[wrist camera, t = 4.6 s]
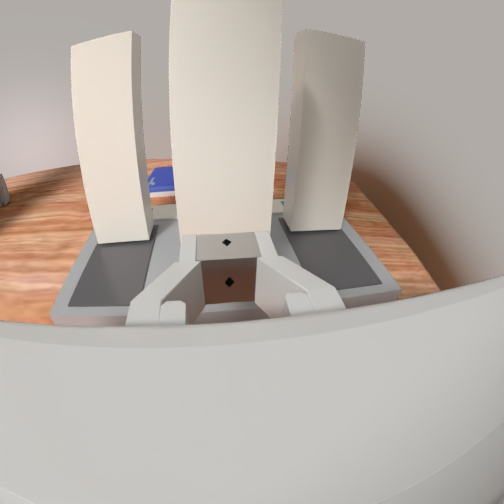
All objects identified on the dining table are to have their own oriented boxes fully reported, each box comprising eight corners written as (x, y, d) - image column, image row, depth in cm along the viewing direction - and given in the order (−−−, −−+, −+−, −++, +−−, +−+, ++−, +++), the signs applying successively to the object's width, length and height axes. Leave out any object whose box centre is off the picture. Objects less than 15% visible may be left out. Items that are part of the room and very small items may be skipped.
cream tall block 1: (149, 239, 18) (132, 30, 10) (98, 243, 18) (71, 46, 10) (154, 223, 20) (140, 36, 12) (107, 227, 20) (85, 49, 12)
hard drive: (140, 189, 28) (255, 183, 29) (155, 166, 34) (247, 162, 36) (142, 202, 28) (255, 197, 30) (156, 177, 35) (247, 173, 37)
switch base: (395, 303, 16) (403, 286, 15) (57, 329, 13) (47, 312, 12) (325, 210, 26) (328, 197, 26) (107, 222, 23) (104, 208, 23)
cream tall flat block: (265, 292, 14) (282, -7, 7) (188, 298, 14) (171, -8, 6) (257, 264, 16) (269, 7, 8) (189, 269, 16) (177, 7, 8)
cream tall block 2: (340, 229, 20) (365, 41, 12) (290, 231, 20) (306, 28, 12) (328, 214, 22) (348, 44, 14) (282, 216, 22) (294, 34, 14)
